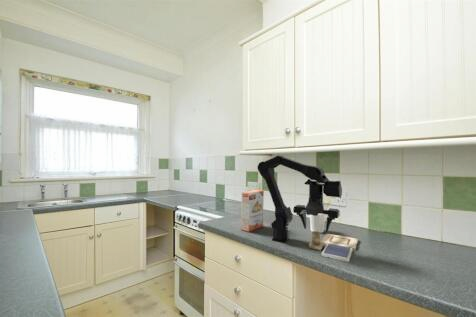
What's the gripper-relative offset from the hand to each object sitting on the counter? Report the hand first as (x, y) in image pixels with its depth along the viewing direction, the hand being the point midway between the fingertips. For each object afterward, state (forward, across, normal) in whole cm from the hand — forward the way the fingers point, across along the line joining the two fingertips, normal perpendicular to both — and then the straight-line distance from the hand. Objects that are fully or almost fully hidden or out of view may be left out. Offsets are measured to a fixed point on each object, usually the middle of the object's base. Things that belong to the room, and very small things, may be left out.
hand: (315, 230), depth 102 cm
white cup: (+8, -5, +24) cm, 26 cm away
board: (+7, +8, +12) cm, 16 cm away
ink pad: (+7, +9, -2) cm, 12 cm away
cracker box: (+8, -37, +10) cm, 39 cm away
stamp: (+8, 0, 0) cm, 8 cm away
